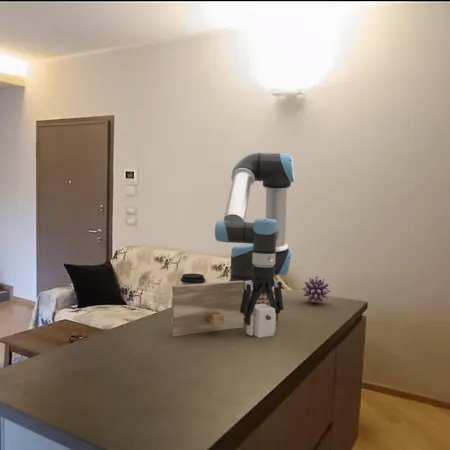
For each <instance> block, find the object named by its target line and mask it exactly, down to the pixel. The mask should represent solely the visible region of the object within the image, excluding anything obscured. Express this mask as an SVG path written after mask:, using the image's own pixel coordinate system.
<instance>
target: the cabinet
mask: <svg viewBox="0 0 450 450" xmlns="http://www.w3.org/2000/svg"><path fill="white" fill-rule="evenodd" d="M251 315H253V336H255V337H256V338H259V339H261V338H264V337H271V336H272V337H274V336H275V332H274V326H275V308H272V307H270V306H268V305H265V304H256V305H255V307H254V309H253V312H252V314H251Z"/></svg>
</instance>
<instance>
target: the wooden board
mask: <svg viewBox="0 0 450 450" xmlns="http://www.w3.org/2000/svg"><path fill="white" fill-rule="evenodd" d="M244 283H245V282H244V281H231V282H229V281H222V282H221V281H220V282H219V281H218V282H207V283H206V282H204V284H190V285H182V284H177V285H171V286H172V287H171V288H172V289H171V291H172V292H171V322H170V323H171V324H170V325H171V326H170V328H171V329H170V335H171V336H172V337H179V336H187V335H195V334H202V333H210V332H217V331H225V330H233V329H241V328H244V322H245V319H244V314H243V313H240V308H241V303H242V298H243V293H244Z"/></svg>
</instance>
